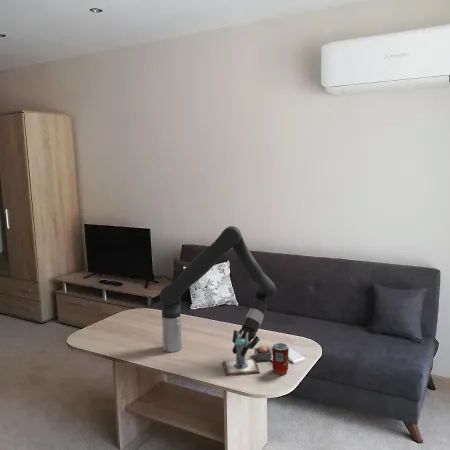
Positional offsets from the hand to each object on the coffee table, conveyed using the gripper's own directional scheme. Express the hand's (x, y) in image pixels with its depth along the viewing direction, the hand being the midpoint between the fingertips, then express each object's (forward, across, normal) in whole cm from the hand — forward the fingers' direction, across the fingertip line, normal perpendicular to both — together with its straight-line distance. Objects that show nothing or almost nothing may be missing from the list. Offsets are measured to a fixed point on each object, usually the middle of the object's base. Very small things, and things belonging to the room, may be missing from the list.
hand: (238, 354), depth 201 cm
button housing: (-7, +2, +17) cm, 18 cm away
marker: (+2, 0, +5) cm, 5 cm away
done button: (-9, +2, +15) cm, 18 cm away
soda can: (-2, +16, +12) cm, 20 cm away
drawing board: (+4, 0, +6) cm, 7 cm away
